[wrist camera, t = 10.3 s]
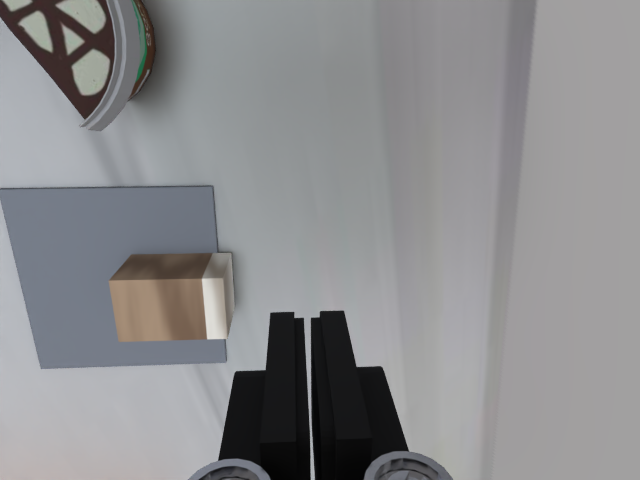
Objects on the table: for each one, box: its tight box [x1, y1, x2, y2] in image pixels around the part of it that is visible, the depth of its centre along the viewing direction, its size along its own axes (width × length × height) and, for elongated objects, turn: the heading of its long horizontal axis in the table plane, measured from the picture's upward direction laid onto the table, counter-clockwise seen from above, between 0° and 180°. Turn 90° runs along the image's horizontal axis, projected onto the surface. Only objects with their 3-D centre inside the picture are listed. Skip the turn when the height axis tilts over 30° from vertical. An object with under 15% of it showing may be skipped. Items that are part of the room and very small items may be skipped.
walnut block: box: [109, 253, 235, 342], centre depth 36 cm, size 5×5×8 cm
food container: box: [0, 0, 156, 131], centre depth 27 cm, size 12×6×10 cm, turn 32°
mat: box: [0, 186, 227, 369], centre depth 39 cm, size 16×16×1 cm
